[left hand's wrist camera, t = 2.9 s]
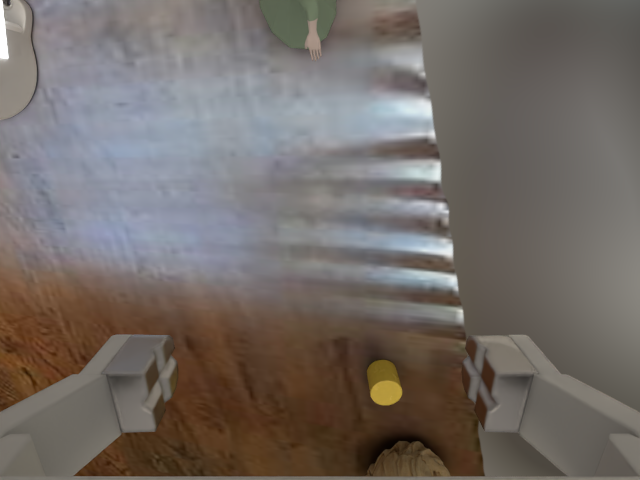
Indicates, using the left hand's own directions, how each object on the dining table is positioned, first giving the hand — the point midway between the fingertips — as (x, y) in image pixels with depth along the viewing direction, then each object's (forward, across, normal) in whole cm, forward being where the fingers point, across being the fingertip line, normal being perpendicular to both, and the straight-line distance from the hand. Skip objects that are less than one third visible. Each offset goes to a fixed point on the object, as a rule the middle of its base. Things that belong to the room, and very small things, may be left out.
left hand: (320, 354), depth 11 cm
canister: (+41, +10, -36) cm, 55 cm away
